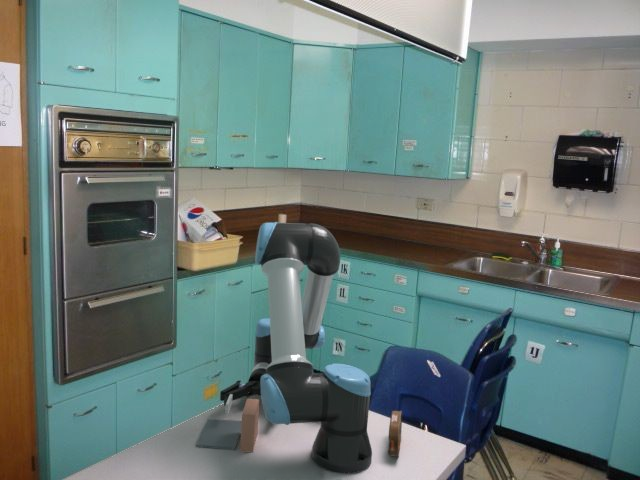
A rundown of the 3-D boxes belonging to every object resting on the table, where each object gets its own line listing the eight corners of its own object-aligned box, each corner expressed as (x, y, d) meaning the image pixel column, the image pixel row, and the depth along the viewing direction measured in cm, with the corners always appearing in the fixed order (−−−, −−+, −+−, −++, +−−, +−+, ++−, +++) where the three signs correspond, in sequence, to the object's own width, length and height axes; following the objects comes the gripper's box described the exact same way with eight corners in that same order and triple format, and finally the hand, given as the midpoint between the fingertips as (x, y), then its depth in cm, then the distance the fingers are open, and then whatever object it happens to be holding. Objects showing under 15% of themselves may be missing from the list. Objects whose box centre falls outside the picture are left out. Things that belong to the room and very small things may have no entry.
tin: (397, 463, 144) (400, 431, 142) (385, 461, 144) (388, 430, 143) (401, 434, 158) (404, 406, 157) (390, 432, 159) (392, 404, 157)
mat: (243, 423, 159) (243, 421, 159) (235, 449, 145) (235, 447, 145) (207, 420, 159) (207, 418, 159) (195, 446, 145) (195, 444, 145)
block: (257, 434, 153) (259, 399, 152) (252, 452, 144) (254, 415, 143) (245, 433, 153) (247, 398, 152) (240, 451, 144) (241, 414, 143)
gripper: (301, 393, 175) (297, 427, 154) (220, 388, 176) (205, 420, 155) (303, 370, 174) (299, 401, 153) (221, 364, 174) (206, 394, 153)
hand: (251, 411), depth 154 cm, fingers open, 13 cm apart
